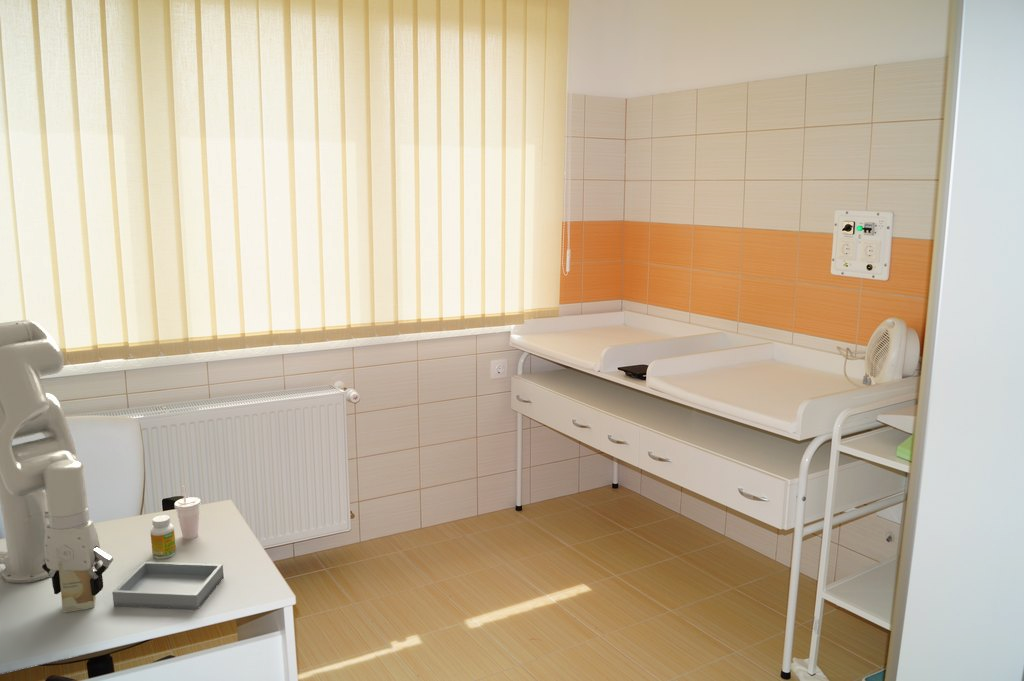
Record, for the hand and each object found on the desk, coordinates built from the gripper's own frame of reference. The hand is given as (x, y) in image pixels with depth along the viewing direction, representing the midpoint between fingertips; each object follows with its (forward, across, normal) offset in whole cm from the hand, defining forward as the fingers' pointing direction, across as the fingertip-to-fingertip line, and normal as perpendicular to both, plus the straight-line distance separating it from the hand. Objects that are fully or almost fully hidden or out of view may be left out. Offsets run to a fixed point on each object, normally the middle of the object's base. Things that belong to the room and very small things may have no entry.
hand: (78, 591), depth 172 cm
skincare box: (+4, 0, 0) cm, 4 cm away
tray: (+4, +17, +7) cm, 19 cm away
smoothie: (+4, +9, +34) cm, 35 cm away
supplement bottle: (+4, +7, +24) cm, 25 cm away
